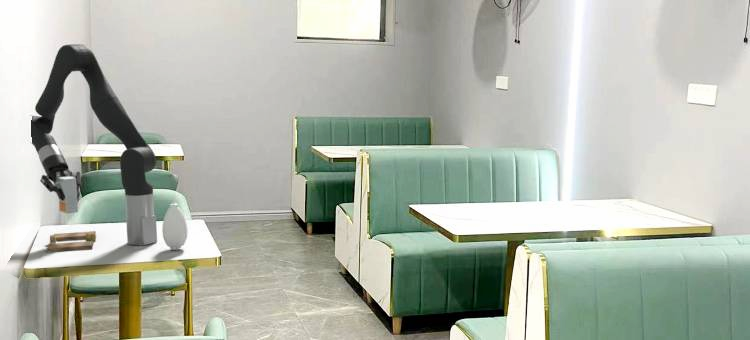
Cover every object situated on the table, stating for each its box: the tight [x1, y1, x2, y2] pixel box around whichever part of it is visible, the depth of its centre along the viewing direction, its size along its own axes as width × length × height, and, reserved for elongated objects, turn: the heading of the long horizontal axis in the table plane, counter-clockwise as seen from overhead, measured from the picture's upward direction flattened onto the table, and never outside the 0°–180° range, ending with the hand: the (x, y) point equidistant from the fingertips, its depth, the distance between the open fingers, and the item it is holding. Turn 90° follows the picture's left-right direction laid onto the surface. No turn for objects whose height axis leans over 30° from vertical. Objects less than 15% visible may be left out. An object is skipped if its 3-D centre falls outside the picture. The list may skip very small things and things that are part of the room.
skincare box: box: [58, 176, 79, 214], centre depth 255 cm, size 6×4×12 cm
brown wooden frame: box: [46, 230, 97, 253], centre depth 257 cm, size 14×24×3 cm, turn 18°
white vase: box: [161, 195, 188, 251], centre depth 245 cm, size 8×8×18 cm
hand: (70, 197), depth 254 cm, fingers closed on skincare box, 4 cm apart
